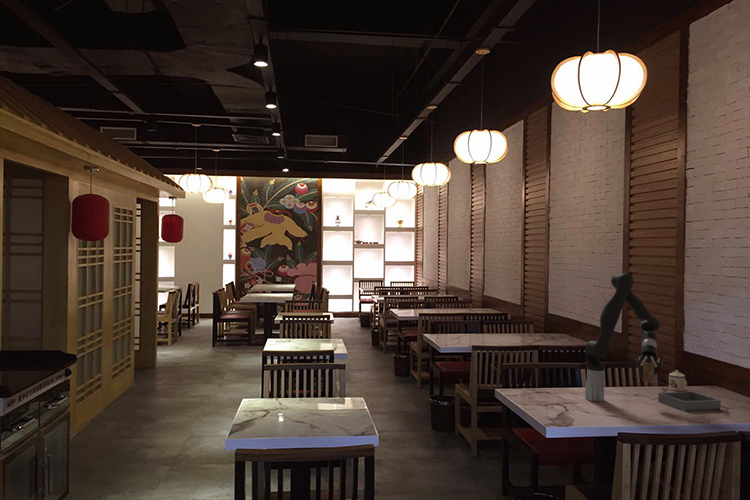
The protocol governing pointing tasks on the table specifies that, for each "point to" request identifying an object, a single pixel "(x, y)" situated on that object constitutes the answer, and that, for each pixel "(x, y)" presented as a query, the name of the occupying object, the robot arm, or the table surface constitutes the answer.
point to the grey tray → (689, 401)
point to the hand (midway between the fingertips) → (648, 373)
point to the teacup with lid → (677, 381)
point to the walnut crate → (648, 372)
